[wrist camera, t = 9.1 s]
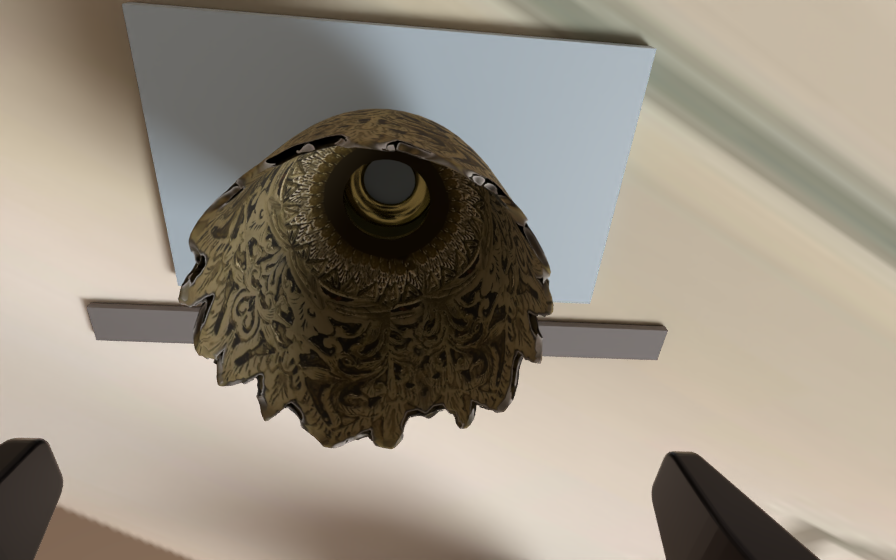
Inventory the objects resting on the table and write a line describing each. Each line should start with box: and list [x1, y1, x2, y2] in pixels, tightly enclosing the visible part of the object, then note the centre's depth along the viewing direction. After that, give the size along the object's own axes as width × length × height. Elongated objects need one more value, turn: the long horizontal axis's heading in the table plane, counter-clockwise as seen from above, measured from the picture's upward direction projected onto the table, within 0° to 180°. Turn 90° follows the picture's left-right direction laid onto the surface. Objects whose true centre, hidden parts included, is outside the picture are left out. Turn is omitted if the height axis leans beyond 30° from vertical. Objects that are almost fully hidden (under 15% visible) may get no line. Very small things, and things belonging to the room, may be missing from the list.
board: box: [122, 2, 656, 304], centre depth 18 cm, size 9×15×1 cm, turn 85°
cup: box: [178, 109, 553, 449], centre depth 14 cm, size 8×7×8 cm
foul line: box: [87, 303, 668, 360], centre depth 22 cm, size 2×22×1 cm, turn 85°
